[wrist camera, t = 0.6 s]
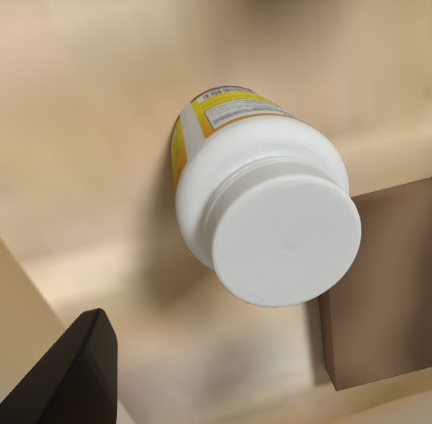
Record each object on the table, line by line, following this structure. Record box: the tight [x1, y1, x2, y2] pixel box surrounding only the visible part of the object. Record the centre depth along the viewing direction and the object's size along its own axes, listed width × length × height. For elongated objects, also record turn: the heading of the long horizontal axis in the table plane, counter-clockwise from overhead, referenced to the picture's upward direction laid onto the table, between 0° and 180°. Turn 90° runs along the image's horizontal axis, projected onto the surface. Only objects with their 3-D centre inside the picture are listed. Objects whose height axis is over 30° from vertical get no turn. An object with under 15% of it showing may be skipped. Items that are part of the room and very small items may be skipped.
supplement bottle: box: [171, 86, 361, 308], centre depth 13 cm, size 6×6×10 cm
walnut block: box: [319, 177, 432, 391], centre depth 23 cm, size 14×14×2 cm
